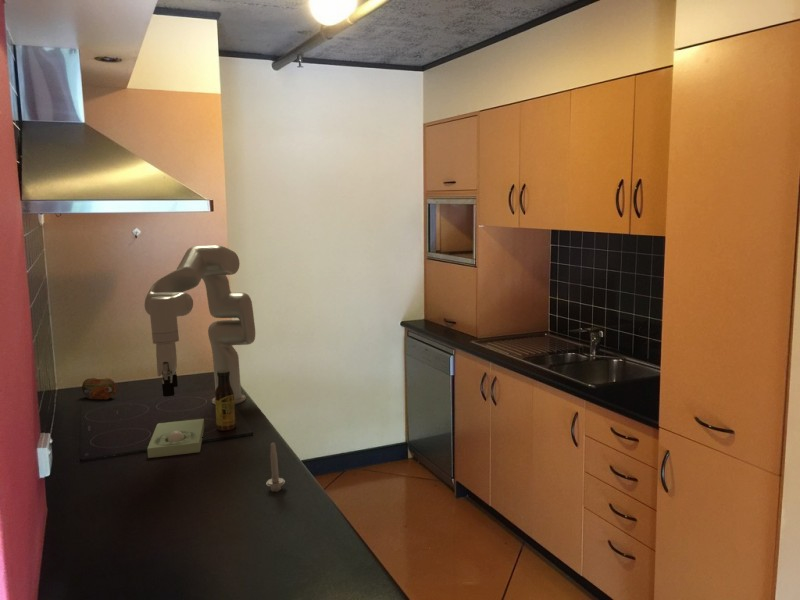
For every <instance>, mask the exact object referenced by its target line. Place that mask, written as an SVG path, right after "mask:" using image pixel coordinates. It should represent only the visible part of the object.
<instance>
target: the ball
mask: <svg viewBox="0 0 800 600" xmlns="http://www.w3.org/2000/svg"><path fill="white" fill-rule="evenodd" d="M181 440H184V435H183V433H182V432H180V431H173V432H171V433H170V434H169V436H168V442H178V441H181Z"/></svg>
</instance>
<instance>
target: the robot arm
mask: <svg viewBox="0 0 800 600" xmlns="http://www.w3.org/2000/svg"><path fill="white" fill-rule="evenodd" d="M240 264H241V263H240V258H239V256H238V254H237V252H235V251H233V250H232V249H229V248H228V247H226V246H223V245H219V244H218V245H196V246H192V247H190V248H188V249H187V250H186V252H185V253H184V255H183V257H182V258H181V260H180V262H179V264H178V266H177V268H176V269H175V270H174V271H172V272H169V273H168V274H166V275H164V276H163V277H161V278H160V279H158V280H157V281H155V282H154V283H153V284H152V285H151V286H150V287H151V288H149V290H148V293H147V294H146V296H145V299H144V310H145V312H146V313H147V314H148V315H149V317H150V328H151V339H152V344H153V345H155V346H156V347H155V353H156V354H155V355H156V372H157V373H156V375H157V377H161V379H162V380H161V382H162V383H161V388H162V389H161V390H162V396H163V397H164V398H165V397H172V396H173V397H175V388H176V387H178V386H179V385H178V383H179V382H178V375H177V368H178V359H177V358H178V357H177V348H176V343H177V342H179V341H180V340H179V338H180V336H179V326H178V317H184V316H185V317H186V316H187V315H189V313H190V312H192V310H193V308H194V299H193V297H192V296H191V295H190V294H189V293H187V291H190V290H192V289H195V288H196V287H197V286H199V284H200V282H201V280H202V281H203V283H204V286H205V290H206V298H207V304H208V305H207V306H208V310H209V313H210V315H211V317H212V318H215V319H221V320H216V321H213V322H212V323H210V324H209V326H208V328H207V334H208V339H209V342H210V343H209V344H210V346H211V351H212V352H211V353H212V363H213V378H214V387H215V388H214V389H215V391H216V388H217V387H218V376H217V372H218V371H221V370H229V371H230V375H229V381H230V386H231V388H232V390H233V393H234V404H235V405H238V404H240V403H243V402H244V401H245V400H246V398H247V397H246V395H245V394H243V393H242V389H241V388H242V385H241V375H240V374H241V373H240V372H241V371H240V360H239V354H238V352H237V350H236V348H234V346H246V345H251V344H253V343H254V342H255V339H256V326H255V317H254V308H253V303H252V302H253V301H252V299H251V297H250V295H249V294H247V293H245V292H232V291H231V289H230V288H231V287H230V282H229V278H228V277H227V276H231V275H235V274H236V273H238V271H239V269H240ZM222 319H223V320H222ZM224 319H225V320H224ZM227 319H228V320H227ZM233 319H234V320H233ZM236 319H237V320H236ZM211 403H212V404H213V405H215V397H213V398H212V400H211Z"/></svg>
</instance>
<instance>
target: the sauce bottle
mask: <svg viewBox="0 0 800 600" xmlns="http://www.w3.org/2000/svg"><path fill="white" fill-rule="evenodd" d="M229 375H230V371H229V370H221V371H218V372H217V376H218V387H217V388H216V390H215V393H214V395H215V404H214V405H215V423H216V430H218V431H221V432H223V431H224V432H225V431H231V430H233V429H235V427H236V408H235V406H236V404H234V393H233V390H232V388H231V386H230V381H229Z"/></svg>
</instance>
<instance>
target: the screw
mask: <svg viewBox="0 0 800 600" xmlns="http://www.w3.org/2000/svg"><path fill="white" fill-rule="evenodd" d="M269 453H270V454H269V455H270V457H269V458H270V470H271V478H270V479H268V480H267V481H266V483H265V484H266V486H267V487H269V488H270V490H271V492H276V493H277V492H279V491H281V490H282V486H283V485H285V484H286V480H285V479H284V478H282V477H280V476H279V475H280V474H279V463H278V452H277V448H276V443H275V442H271V443H270V452H269Z"/></svg>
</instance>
